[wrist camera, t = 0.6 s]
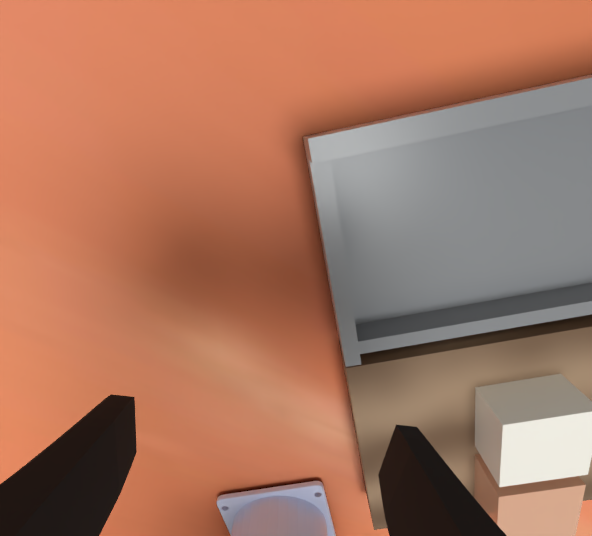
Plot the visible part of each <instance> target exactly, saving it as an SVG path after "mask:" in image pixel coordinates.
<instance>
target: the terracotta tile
mask: <svg viewBox="0 0 592 536" xmlns="http://www.w3.org/2000/svg"><path fill="white" fill-rule="evenodd" d="M585 487H586V484H585V483H584V482H583V481H582V480H581V478H580V477H579V476H575V477H568V478H561V479H554V480H547V481H540V482H533V483H526V484H519V485H512V486H505V487H499V486H498V484H497V482H496V481H495V479H494V477H493V476H492V474H491V472H490V471H489V469H488V467H487V465H486V464H485V462H484V460H483V459H482V457H481V455H480V454H476V455H475V470H474V498H475V499H476V501H477V502H478V503H479V504H480V505H481V507H482V508H483V509H484V510H485V511H486V513H487V514H488V515H489V516H490V517H491V518H492V520H493V521H494V522H495V523H496V524H497V525H498V526H499V528H500V529H501V530H502V531H503V532H504V533H505V534H506V535H507V536H575V535H576V530H577V525H578V521H579V516H580V511H581V506H582V501H583V496H584V492H585Z"/></svg>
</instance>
